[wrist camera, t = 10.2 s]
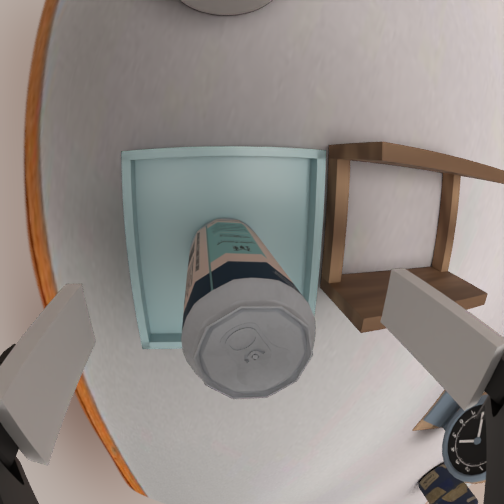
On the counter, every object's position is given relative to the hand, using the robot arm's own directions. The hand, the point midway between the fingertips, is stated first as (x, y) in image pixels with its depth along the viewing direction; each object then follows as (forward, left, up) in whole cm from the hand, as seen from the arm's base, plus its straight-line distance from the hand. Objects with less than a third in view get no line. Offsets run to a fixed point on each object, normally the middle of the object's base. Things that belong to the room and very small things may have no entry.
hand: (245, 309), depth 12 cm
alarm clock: (+26, +34, -10) cm, 44 cm away
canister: (+58, +47, -10) cm, 76 cm away
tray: (0, 0, -10) cm, 10 cm away
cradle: (-2, +14, -10) cm, 17 cm away
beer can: (0, 0, -10) cm, 10 cm away
